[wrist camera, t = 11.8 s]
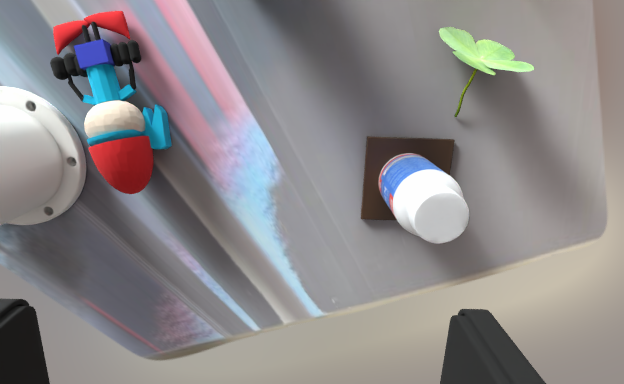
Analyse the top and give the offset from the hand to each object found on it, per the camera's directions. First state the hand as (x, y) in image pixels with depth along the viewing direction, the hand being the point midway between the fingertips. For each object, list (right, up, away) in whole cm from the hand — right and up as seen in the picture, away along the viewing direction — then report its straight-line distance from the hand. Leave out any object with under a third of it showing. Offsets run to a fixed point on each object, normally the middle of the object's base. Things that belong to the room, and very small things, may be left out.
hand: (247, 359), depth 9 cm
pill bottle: (+10, +5, +28) cm, 30 cm away
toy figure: (-15, +12, +26) cm, 32 cm away
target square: (+10, +5, +28) cm, 31 cm away
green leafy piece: (+14, +15, +26) cm, 33 cm away
